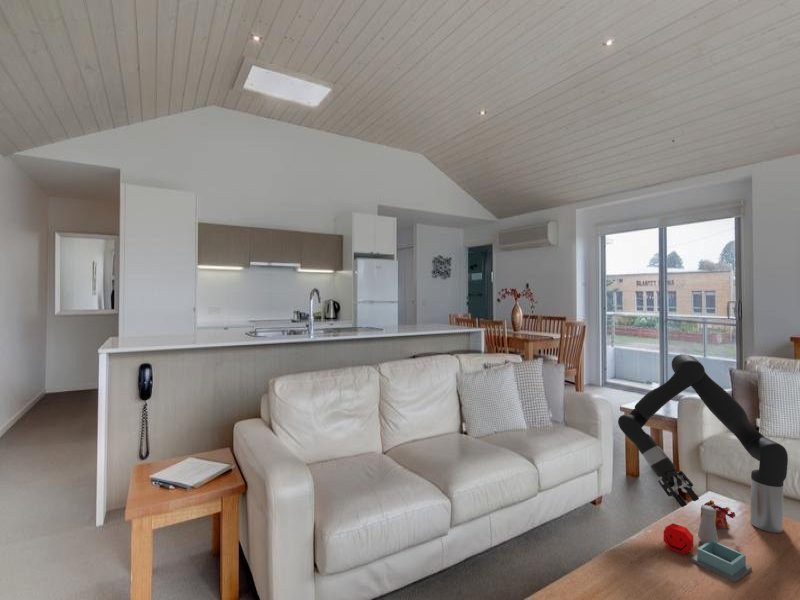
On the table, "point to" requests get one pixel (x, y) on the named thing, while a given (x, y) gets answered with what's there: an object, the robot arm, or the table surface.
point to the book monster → (720, 515)
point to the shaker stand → (722, 560)
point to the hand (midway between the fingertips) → (690, 503)
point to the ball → (678, 538)
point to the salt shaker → (707, 525)
